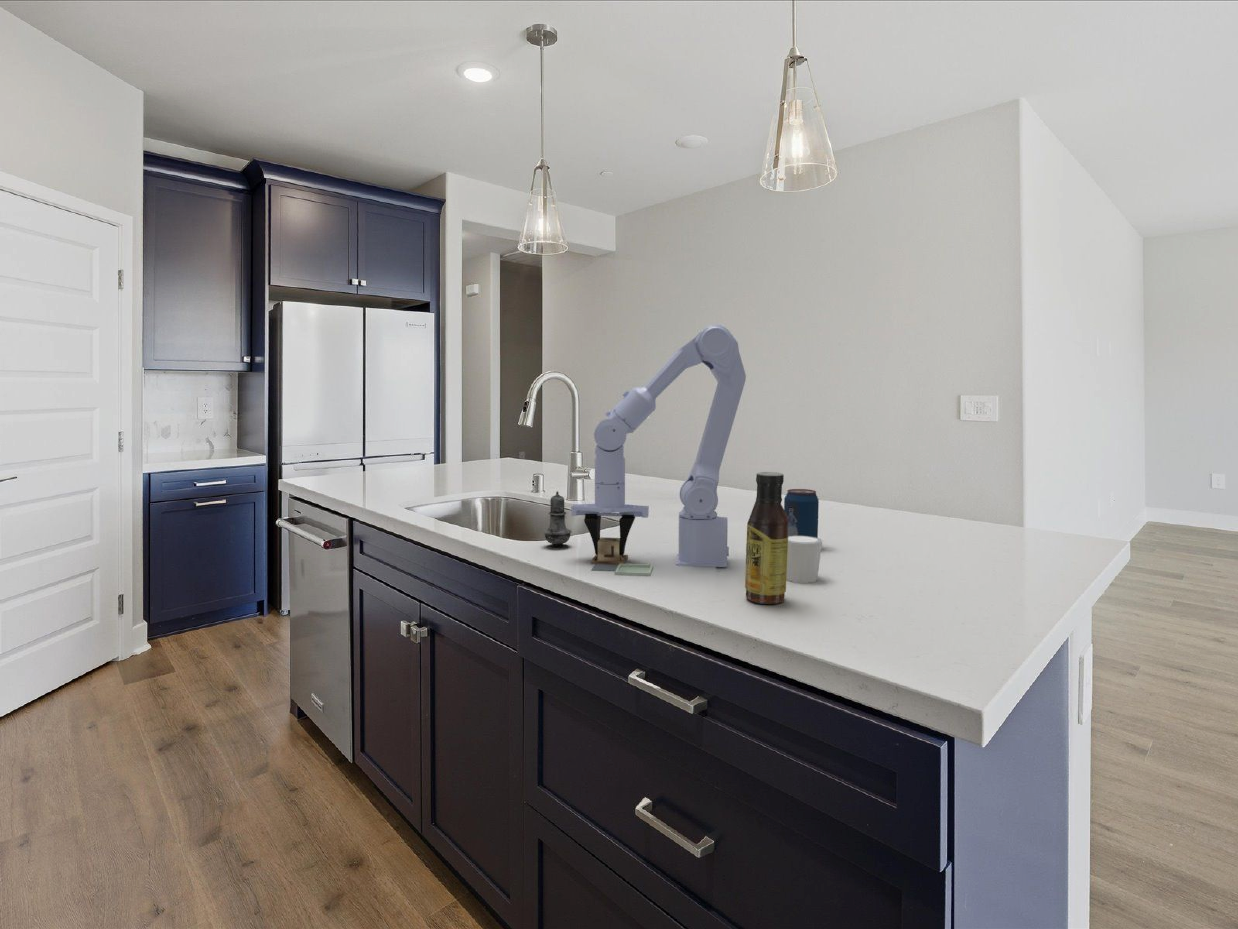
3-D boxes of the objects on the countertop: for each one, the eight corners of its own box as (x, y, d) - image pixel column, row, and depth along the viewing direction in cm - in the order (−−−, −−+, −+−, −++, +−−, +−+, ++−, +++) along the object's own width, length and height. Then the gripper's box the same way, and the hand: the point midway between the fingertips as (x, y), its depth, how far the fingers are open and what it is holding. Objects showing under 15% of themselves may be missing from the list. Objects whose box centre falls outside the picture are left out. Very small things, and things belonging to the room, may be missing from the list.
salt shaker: (567, 552, 138) (567, 493, 137) (539, 550, 139) (539, 492, 138) (575, 546, 144) (574, 489, 143) (548, 544, 145) (547, 488, 144)
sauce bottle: (740, 594, 108) (742, 470, 106) (778, 593, 109) (781, 470, 107) (751, 607, 102) (754, 475, 100) (792, 606, 102) (795, 475, 100)
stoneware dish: (653, 568, 125) (653, 564, 124) (650, 577, 118) (650, 573, 118) (619, 567, 125) (619, 563, 125) (614, 576, 119) (614, 571, 119)
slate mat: (618, 566, 126) (618, 564, 126) (615, 572, 122) (615, 570, 122) (595, 566, 127) (595, 563, 127) (591, 572, 122) (591, 569, 122)
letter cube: (621, 558, 131) (621, 537, 131) (618, 563, 127) (618, 542, 127) (601, 557, 132) (601, 537, 131) (597, 562, 128) (597, 541, 127)
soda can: (817, 545, 145) (819, 489, 144) (817, 552, 138) (819, 493, 137) (783, 543, 147) (785, 487, 146) (782, 550, 140) (783, 492, 139)
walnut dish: (628, 558, 132) (628, 554, 132) (623, 566, 126) (623, 562, 126) (596, 557, 133) (596, 553, 133) (590, 565, 127) (590, 561, 127)
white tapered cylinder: (799, 585, 114) (800, 544, 113) (771, 576, 120) (772, 537, 119) (829, 580, 117) (831, 540, 116) (801, 571, 123) (802, 533, 122)
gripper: (567, 484, 125) (568, 557, 127) (646, 486, 123) (645, 559, 125) (575, 480, 132) (575, 548, 133) (649, 481, 130) (649, 551, 132)
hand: (609, 553), depth 129 cm, fingers closed on letter cube, 4 cm apart
